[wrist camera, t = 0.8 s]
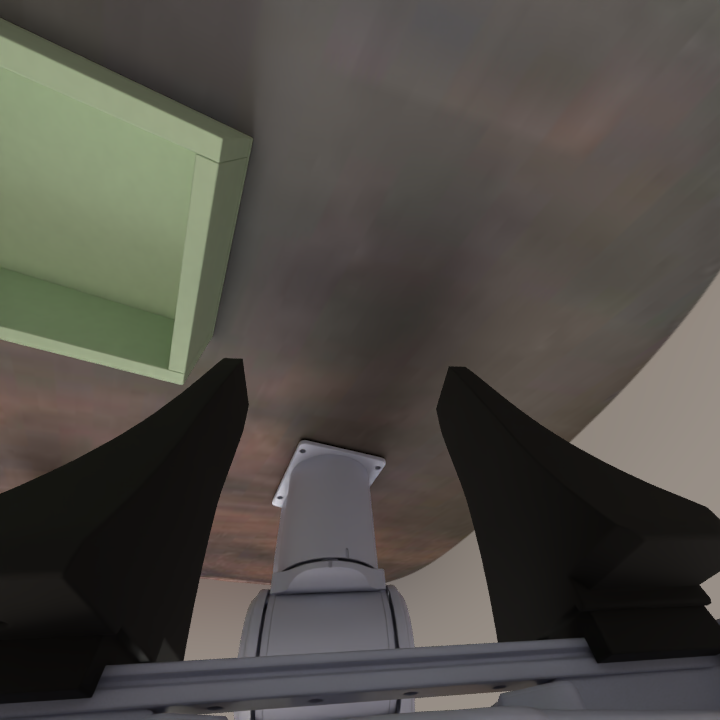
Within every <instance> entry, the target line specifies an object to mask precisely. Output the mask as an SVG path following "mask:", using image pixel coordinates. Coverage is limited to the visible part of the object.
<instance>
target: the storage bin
mask: <svg viewBox="0 0 720 720" xmlns="http://www.w3.org/2000/svg"><path fill="white" fill-rule="evenodd" d="M252 142H253V138H252V137H250V136H248V135H246V134H244V133H242V132H239V131H237V130H235V129H233V128H231V127H229V126H227V125H225V124H223V123H221V122H218V121H216V120H214V119H212V118H210V117H208V116H206V115H204V114H202V113H199V112H197V111H195V110H193V109H191V108H189V107H187V106H185V105H183V104H181V103H178V102H176V101H174V100H172V99H170V98H168V97H166V96H164V95H162V94H160V93H157V92H155V91H153V90H151V89H149V88H147V87H145V86H143V85H141V84H138V83H136V82H134V81H132V80H130V79H128V78H126V77H124V76H122V75H120V74H117V73H115V72H113V71H111V70H109V69H107V68H105V67H103V66H101V65H99V64H96V63H94V62H92V61H90V60H88V59H86V58H84V57H82V56H80V55H77V54H75V53H73V52H71V51H69V50H67V49H65V48H63V47H61V46H59V45H56V44H54V43H52V42H50V41H48V40H46V39H44V38H42V37H40V36H38V35H35V34H33V33H31V32H29V31H27V30H25V29H23V28H21V27H19V26H16V25H14V24H12V23H10V22H8V21H6V20H4V19H2V18H0V339H1V340H5V341H9V342H13V343H17V344H21V345H25V346H29V347H33V348H37V349H41V350H45V351H49V352H53V353H57V354H61V355H65V356H69V357H73V358H77V359H81V360H85V361H89V362H92V363H96V364H100V365H104V366H108V367H112V368H116V369H120V370H124V371H128V372H132V373H136V374H140V375H144V376H148V377H152V378H156V379H160V380H164V381H168V382H172V383H176V384H180V385H183V384H184V382H185V381H186V379H187V378H188V376H189V374H190V373H191V371H192V369H193V368H194V366H195V364H196V363H197V361H198V360H199V358H200V356H201V355H202V353H203V351H204V350H205V348H206V346H207V345H208V343H209V342H210V340H211V338H212V337H213V333H214V328H215V323H216V318H217V313H218V308H219V303H220V299H221V294H222V289H223V284H224V279H225V274H226V269H227V264H228V260H229V255H230V250H231V245H232V240H233V235H234V230H235V225H236V220H237V216H238V211H239V206H240V201H241V196H242V191H243V186H244V181H245V177H246V172H247V167H248V162H249V157H250V152H251V147H252Z"/></svg>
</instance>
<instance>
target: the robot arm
mask: <svg viewBox="0 0 720 720" xmlns="http://www.w3.org/2000/svg"><path fill="white" fill-rule="evenodd" d="M248 406H249V403H248V396H247V388H246V381H245V374H244V366H243V359H232V358H223V359H222V360H221V361H220V362H218V363H217V364H216V365H215V366H214V367H213V368H211V369H210V370H209V371H208V372H207V373H205V374H204V375H203V376H202V377H201V378H200V379H198V380H197V381H196V382H195V383H193V384H192V385H191V386H190V387H189V388H187V389H186V390H185V391H184V392H182V393H181V394H180V395H178V396H177V397H176V398H174V399H173V400H172V401H170V402H169V403H168V404H166V405H165V406H164V407H162V408H161V409H160V410H158V411H157V412H155V413H154V414H153V415H151V416H150V417H148V418H147V419H145V420H144V421H142V422H141V423H139V424H137V425H136V426H134V427H133V428H131V429H129V430H128V431H126V432H125V433H123V434H121V435H120V436H118V437H116V438H114V439H113V440H111V441H109V442H107V443H105V444H103V445H102V446H100V447H98V448H96V449H94V450H92V451H90V452H89V453H87V454H85V455H83V456H81V457H79V458H77V459H76V460H74V461H72V462H69V463H67V464H65V465H63V466H61V467H59V468H57V469H55V470H53V471H51V472H49V473H47V474H44V475H42V476H40V477H38V478H36V479H33V480H31V481H29V482H27V483H25V484H22V485H20V486H18V487H15V488H13V489H11V490H8V491H6V492H3V493H1V494H0V720H228V719H227V717H226V716H211V715H197V714H210V713H223V712H234V720H720V619H717V620H715V619H714V618H713V616H712V615H711V614H710V613H709V611H707V609H706V608H705V606H704V605H709V604H710V603H711V599H710V597H709V596H708V595H707V594H706V593H705V591H704V590H703V589H702V588H701V586H700V584H701V583H703V582H704V581H706V580H707V579H708V578H710V577H712V576H713V575H715V574H717V573H718V572H720V519H719V518H718V517H717V516H716V515H715V514H714V513H713V512H712V511H711V510H709V509H708V508H707V507H705V506H703V505H700V504H697V503H695V502H693V501H691V500H688V499H686V498H683V497H681V496H678V495H676V494H673V493H671V492H668V491H666V490H664V489H661V488H659V487H656V486H654V485H652V484H649V483H647V482H645V481H643V480H640V479H639V478H636V477H634V476H632V475H630V474H627V473H626V472H623V471H621V470H619V469H617V468H615V467H613V466H611V465H609V464H607V463H605V462H603V461H601V460H600V459H598V458H596V457H594V456H592V455H590V454H588V453H587V452H585V451H583V450H581V449H579V448H577V447H576V446H574V445H572V444H571V443H569V442H567V441H566V440H564V439H562V438H561V437H559V436H558V435H556V434H554V433H553V432H551V431H550V430H548V429H546V428H545V427H543V426H542V425H540V424H539V423H538V422H536V421H535V420H533V419H532V418H531V417H529V416H528V415H526V414H525V413H524V412H522V411H521V410H520V409H518V408H517V407H516V406H514V405H513V404H512V403H510V402H509V401H508V400H507V399H505V398H504V397H503V396H501V395H500V394H499V393H498V392H496V391H495V390H494V389H493V388H492V387H490V386H489V385H488V384H487V383H485V382H484V381H483V380H482V379H480V378H479V377H478V376H477V375H475V374H474V373H473V372H472V371H470V370H469V369H467V368H466V367H453V366H449V368H448V371H447V374H446V378H445V381H444V384H443V388H442V391H441V395H440V398H439V401H438V405H437V408H436V410H437V415H438V419H439V424H440V428H441V432H442V435H443V438H444V441H445V443H446V446H447V449H448V451H449V454H450V457H451V459H452V462H453V464H454V467H455V470H456V472H457V475H458V477H459V480H460V482H461V485H462V488H463V491H464V494H465V497H466V500H467V503H468V507H469V510H470V514H471V518H472V521H473V525H474V529H475V533H476V537H477V541H478V545H479V550H480V554H481V558H482V562H483V567H484V572H485V576H486V581H487V585H488V590H489V596H490V601H491V606H492V612H493V617H494V623H495V628H496V634H497V640H498V643H484V644H467V645H449V646H432V647H414V639H413V632H412V626H411V621H410V616H409V612H408V608H407V605H406V602H405V600H404V598H403V596H402V595H401V594H400V593H399V592H398V591H397V588H396V587H395V586H394V585H386V584H385V575H384V569H378V563H377V553H376V543H375V534H374V524H373V514H372V504H371V494H370V486H371V484H372V483H373V482H374V480H375V479H376V477H377V476H378V475H379V473H380V472H381V470H382V469H383V468H384V466H385V464H386V462H385V459H384V458H381V457H377V456H373V455H368V454H364V453H360V452H355V451H351V450H347V449H342V448H338V447H334V446H329V445H325V444H321V443H316V442H312V441H308V440H302V441H300V442H299V444H298V446H297V448H296V450H295V453H294V455H293V457H292V459H291V461H290V463H289V465H288V468H287V470H286V472H285V474H284V476H283V478H282V480H281V483H280V485H279V487H278V489H277V491H276V493H275V495H274V498H273V501H272V504H273V505H274V506H278V507H282V509H281V517H280V524H279V531H278V538H277V545H276V552H275V559H274V567H273V575H272V582H271V589H270V590H269V589H262V590H261V591H260V592H259V593H258V595H257V596H256V597H255V598H254V599H253V601H252V602H251V604H250V606H249V608H248V611H247V614H246V618H245V622H244V627H243V631H242V636H241V641H240V647H239V653H238V658H226V659H209V660H192V661H184V655H185V649H186V644H187V639H188V634H189V628H190V623H191V618H192V613H193V607H194V603H195V598H196V593H197V589H198V584H199V579H200V575H201V570H202V565H203V561H204V557H205V553H206V548H207V544H208V540H209V535H210V531H211V527H212V523H213V519H214V515H215V511H216V507H217V503H218V500H219V497H220V494H221V491H222V488H223V485H224V482H225V480H226V477H227V474H228V471H229V469H230V466H231V463H232V460H233V458H234V455H235V452H236V449H237V447H238V444H239V441H240V438H241V435H242V432H243V429H244V425H245V420H246V416H247V411H248ZM302 449H304V450H302ZM502 691H510V692H506V693H502V694H500V696H499V699H498V702H496V703H495V704H494V705H493V706H491V707H486V708H474V709H462V710H445V711H424V712H415V698H421V697H422V698H423V697H436V696H449V695H462V694H476V693H488V692H502Z"/></svg>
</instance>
